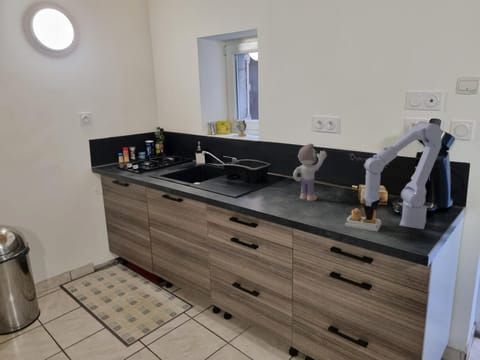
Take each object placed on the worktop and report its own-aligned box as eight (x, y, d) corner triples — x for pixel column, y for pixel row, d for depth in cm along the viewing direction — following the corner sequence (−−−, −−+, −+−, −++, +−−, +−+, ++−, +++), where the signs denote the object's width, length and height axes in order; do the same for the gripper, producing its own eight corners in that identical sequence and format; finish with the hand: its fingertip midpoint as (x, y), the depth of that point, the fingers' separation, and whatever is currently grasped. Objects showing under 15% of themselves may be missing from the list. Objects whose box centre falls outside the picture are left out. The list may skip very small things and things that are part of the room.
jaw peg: (375, 222, 158) (376, 206, 156) (374, 226, 155) (374, 209, 153) (363, 221, 161) (363, 205, 159) (361, 224, 158) (361, 208, 156)
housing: (381, 224, 160) (382, 209, 158) (377, 231, 153) (378, 215, 151) (349, 219, 166) (350, 204, 164) (344, 226, 159) (345, 210, 157)
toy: (330, 200, 194) (331, 144, 186) (321, 204, 188) (322, 147, 180) (301, 194, 206) (301, 141, 198) (292, 198, 200) (291, 144, 192)
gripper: (366, 181, 161) (365, 210, 165) (358, 190, 149) (357, 221, 153) (383, 182, 158) (381, 212, 161) (376, 192, 146) (375, 223, 149)
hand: (371, 216), depth 157 cm, fingers open, 7 cm apart
